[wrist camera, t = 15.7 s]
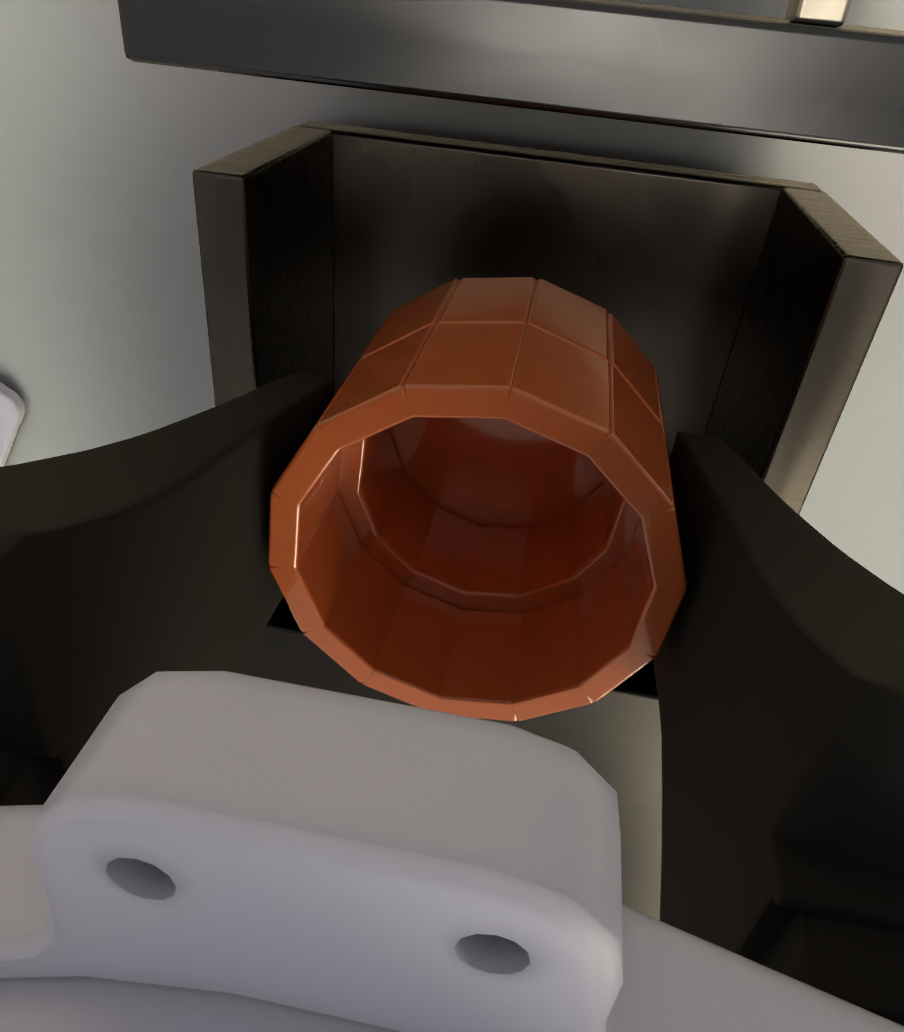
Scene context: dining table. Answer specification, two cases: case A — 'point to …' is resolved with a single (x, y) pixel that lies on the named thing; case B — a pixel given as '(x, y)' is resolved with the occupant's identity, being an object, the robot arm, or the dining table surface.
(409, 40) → the drawer
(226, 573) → the robot arm
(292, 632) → the cabinet
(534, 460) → the orange cup
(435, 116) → the dining table surface
